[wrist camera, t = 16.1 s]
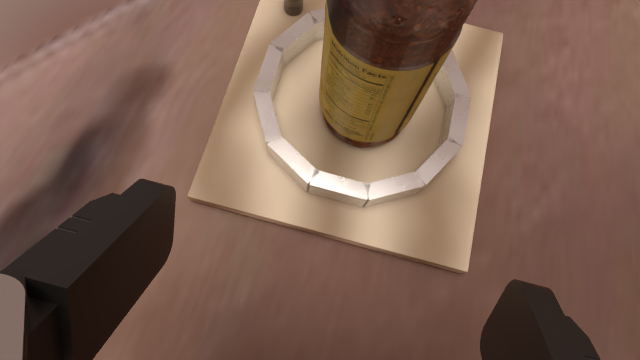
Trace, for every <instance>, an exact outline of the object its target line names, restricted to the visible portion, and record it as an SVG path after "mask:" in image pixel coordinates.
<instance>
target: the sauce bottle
mask: <svg viewBox="0 0 640 360" xmlns="http://www.w3.org/2000/svg"><path fill="white" fill-rule="evenodd" d="M476 1H477V0H326V4H325V23H324V37H323V50H322V61H321V76H320V89H319V101H320V106H321V109H322V113H323V116H324V120H325V122H326V125H327V126H328V128H329V129H330V130H331V131H332V132H333V133H335V135H337V136H338V137H339V138H341V139H342V140H344V141H346V142H347V143H350V144H352V145H353V146H357V147H372V146H375V145H380V144H383V143H385V142H388V141H391V140H393V139H394V138H395V137H396V136H397V135H398V134H399V133H400V131H401V130H402V129H404V127H405V126H406V125H407V124H408V123H409V121H410V120H411V118H412V116H413V115H414V113H415V112H416V110H417V108H418V106H419V105H420V103H421V102H422V100H423V98H424V96H425V95H426V93H427V91H428V89H429V88H430V86H431V84H432V82H433V81H434V79H435V77H436V75H437V74H438V72H439V70H440V69H441V67H442V65H443V64H444V62H445V60H446V59H447V57H448V55H449V53H450V52H451V50H452V48H453V47H454V45H455V43H456V41H457V39H458V38H459V36H460V33H461V31H462V27H463V24H464V23H465V21H466V19H467V17H468V16H469V14H470V12H471V10H472V9H473V7H474V5H475V3H476Z"/></svg>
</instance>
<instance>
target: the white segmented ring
mask: <svg viewBox="0 0 640 360" xmlns="http://www.w3.org/2000/svg"><path fill="white" fill-rule="evenodd" d="M284 11H285V13H286V14H287V15H289V16H298V15H300V14H301V13H302V11H303V0H284ZM324 23H325V9H320V10H315V11H310V14H309V13H307V14H305V15H304V16H303V17H302V18H300V19H299V20H298V21H297V22H295V23H294V24H293V25H292V26H290V27H289V28H288V29H287V30H285V31H284V32H283V33H282V34H280V35H279V36H278V37H277V38H276V39H274V40H273V41H272V42H271V43H270V44H269V46H268V49H267V52H266V55H265V58H264V61H263V63H262V66H261V69H260V72H259V75H258V78H257V80H256V83H255V86H254V89H253V94H254V99H255V105H256V109H257V113H258V117H259V121H260V125H261V129H262V133H263V137H264V141H265V145H266V148H267V152H268V154H269V156H270V157H271V158H272V159H273V160H274V161H275V162H276V163H277V164H278V165H279V166H280V167H281V168H282V169H283V170H284V171H285V172H286V173H287V174H288V175H289V176H290V177H291V178H292V179H293V180H294V181H295V182H296V183H298V184H299V185H300V186H301V187H302V188H303V189H304V190H305V191H306V192H308V191H309V194H312V195H316V196H320V197H323V198H327V199H331V200H334V201H338V202H342V203H346V204H349V205H353V206H357V207H361V208H362V207H363V206H364V208H365V207H369V206H373V205H377V204H381V203H385V202H389V201H392V200H396V199H400V198H404V197H408V196H412V195H415V194H416V193H418V192H419V191H420V190H421V189H422V188H423V187H425V186H426V185H427V184H428V183H429V181H430V180H431V179H432V178H433V177H434V176H435V175H436V174H437V173H438V172H439V171H440V170H441V169H442V168H443V167H444V166H445V165H446V164H447V163H448V162H449V160H450V159H451V158H452V157H453V156H454V155H455V154H456V153H457V152H458V151H459V150H460V149H461V148H462V146H463V143H464V137H465V131H466V125H467V119H468V113H469V107H470V101H471V97H470V96H471V94H470V91H469V89H468V87H467V84H466V82H465V79H464V77H463V74H462V72H461V70H460V67H459V65H458V62H457V60H456V58H455V55H454V53H453V50H451V52H450V53H449V55H448V57H447V59H446V60H445V62H444V64H443V65H442V67H441V69H440V70H439V72H438V74H437V75H436V77H435V79H434V82H435V85H436V87H437V90H438V92H439V95H440V98H441V100H442V103H443V105H444V108H445V114H444V119H443V124H442V130H441V135H440V140H439V146H438V149H437V150H436V151H435V152H434V153H433V154H432V155H431V156H430V157H429V158H428V160H427V161H426V162H425V163H424V164H423V165H422V166H421V167H420V168H419V169H418V170H417V171H415V172H411V173H407V174H403V175H399V176H395V177H391V178H387V179H383V180H379V181H375V182H371V183H364V182H360V181H356V180H352V179H349V178H345V177H341V176H337V175H334V174H330V173H326V172H322V171H319V170H317V169H316V168H315V167H313V166H312V165H311V164H310V163H309V162H308V161H307V160H306V159H305V158H304V157H303V156H302V155H301V154H300V153H299V152H298V151H297V150H296V149H295V148H294V147H293V146H292V145H291V144H289V143H288V142H287V141H286V140H285V139H284V138H283V137H282V136H281V133H280V129H279V126H278V122H277V118H276V114H275V111H274V107H273V103H272V102H273V98H274V95H275V92H276V89H277V86H278V83H279V80H280V77H281V74H282V71H283V68H284V67H285V66H286V65H287V64H288V63H290V62H291V61H292V60H293V59H294V58H296V57H297V56H298V55H299V54H300V53H302V52H303V51H304V50H305V49H306V48H308V47H309V46H310V45H311V44H312V43H314V42H315V41H319V40H323V37H324Z"/></svg>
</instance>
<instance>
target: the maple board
mask: <svg viewBox="0 0 640 360" xmlns="http://www.w3.org/2000/svg"><path fill="white" fill-rule="evenodd" d="M325 4H326V0H303V11H302V13H301V14H300V15H298V16H289V15H287V14H286V13H285V11H284V0H260V3H259V5H258V8H257V11H256V13H255V16H254V19H253V21H252V24H251V27H250V30H249V32H248V35H247V38H246V40H245V43H244V46H243V48H242V51H241V54H240V56H239V59H238V62H237V65H236V67H235V70H234V73H233V75H232V78H231V81H230V83H229V86H228V89H227V91H226V94H225V97H224V99H223V102H222V105H221V108H220V110H219V113H218V116H217V118H216V121H215V124H214V126H213V129H212V132H211V134H210V137H209V140H208V142H207V145H206V148H205V151H204V153H203V156H202V159H201V161H200V164H199V167H198V169H197V172H196V175H195V177H194V180H193V183H192V186H191V188H190V191H189V194H188V197H189V198H190V199H191V201H194V202H198V203H201V204H205V205H209V206H212V207H216V208H220V209H223V210H227V211H231V212H235V213H238V214H242V215H246V216H249V217H253V218H257V219H260V220H264V221H268V222H272V223H275V224H279V225H283V226H286V227H290V228H294V229H297V230H301V231H305V232H309V233H312V234H316V235H320V236H323V237H327V238H331V239H334V240H338V241H342V242H346V243H349V244H353V245H357V246H360V247H364V248H368V249H371V250H375V251H379V252H383V253H386V254H390V255H394V256H397V257H401V258H405V259H408V260H412V261H416V262H420V263H423V264H427V265H431V266H434V267H438V268H442V269H445V270H449V271H453V272H457V273H460V274H461V273H465V272H468V266H469V260H470V253H471V246H472V240H473V233H474V226H475V220H476V213H477V206H478V200H479V193H480V186H481V180H482V173H483V166H484V160H485V153H486V146H487V140H488V133H489V126H490V120H491V113H492V106H493V100H494V93H495V86H496V80H497V73H498V66H499V60H500V53H501V46H502V40H503V33H499V32H496V31H492V30H488V29H484V28H480V27H476V26H472V25H468V24H463V27H462V31H461V33H460V36H459V38H458V39H457V41H456V43H455V45H454V47H453V48H452V50H453V53H454V55H455V58H456V60H457V62H458V65H459V67H460V70H461V72H462V74H463V77H464V79H465V82H466V84H467V87H468V89H469V91H470V94H471V96H470V97H471V101H470V107H469V113H468V119H467V125H466V131H465V137H464V143H463V146H462V148H461V149H460V150H459V151H458V152H457V153H456V154H455V155H454V156H453V157H452V158H451V159H450V160H449V162H448V163H447V164H446V165H445V166H444V167H443V168H442V169H441V170H440V171H439V172H438V173H437V174H436V175H435V176H434V177H433V178H432V179H431V180H430V181H429V183H428V184H427V185H426V186H425V187H423V188H422V189H421V190H420V191H419V192H418V193H416V194H415V195H412V196H408V197H404V198H400V199H396V200H392V201H389V202H385V203H381V204H377V205H373V206H369V207H365V208H364V206H363V207H362V208H361V207H357V206H353V205H349V204H346V203H342V202H338V201H334V200H331V199H327V198H323V197H320V196H316V195H312V194H309V191H308V192H306V191H305V190H304V189H303V188H302V187H301V186H300V185H299V184H298V183H296V182H295V181H294V180H293V179H292V178H291V177H290V176H289V175H288V174H287V173H286V172H285V171H284V170H283V169H282V168H281V167H280V166H279V165H278V164H277V163H276V162H275V161H274V160H273V159H272V158H271V157H270V156H269V154H268V152H267V148H266V145H265V141H264V137H263V133H262V129H261V125H260V121H259V117H258V113H257V109H256V105H255V99H254V94H253V89H254V86H255V83H256V80H257V78H258V75H259V72H260V69H261V66H262V63H263V61H264V58H265V55H266V52H267V49H268V46H269V44H270V43H271V42H272V41H273V40H274V39H276V38H277V37H278V36H279V35H280V34H282V33H283V32H284V31H285V30H287V29H288V28H289V27H290V26H292V25H293V24H294V23H295V22H297V21H298V20H299V19H300V18H302V17H303V16H304V15H305V14H307V13H309V14H310V11H315V10H320V9H325ZM322 50H323V40H319V41H315V42H314V43H312V44H311V45H310V46H309V47H308V48H306V49H305V50H304V51H303V52H302V53H300V54H299V55H298V56H297V57H296V58H294V59H293V60H292V61H291V62H290V63H288V64H287V65H286V66H285V67H284V68H283V71H282V74H281V77H280V80H279V83H278V86H277V89H276V92H275V95H274V98H273V102H272V103H273V107H274V111H275V114H276V118H277V122H278V126H279V129H280V133H281V136H282V137H283V138H284V139H285V140H286V141H287V142H288V143H289V144H291V145H292V146H293V147H294V148H295V149H296V150H297V151H298V152H299V153H300V154H301V155H302V156H303V157H304V158H305V159H306V160H307V161H308V162H309V163H310V164H311V165H312V166H313V167H315V168H316V169H317V170H319V171H322V172H326V173H330V174H334V175H337V176H341V177H345V178H349V179H352V180H356V181H360V182H364V183H371V182H375V181H379V180H383V179H387V178H391V177H395V176H399V175H403V174H407V173H411V172H415V171H417V170H418V169H419V168H420V167H421V166H422V165H423V164H424V163H425V162H426V161H427V160H428V158H429V157H430V156H431V155H432V154H433V153H434V152H435V151H436V150H437V149H438V146H439V140H440V135H441V130H442V124H443V119H444V114H445V108H444V105H443V103H442V100H441V98H440V95H439V92H438V90H437V87H436V85H435V82H434V81H433V82H432V84H431V86H430V88H429V89H428V91H427V93H426V95H425V96H424V98H423V100H422V102H421V103H420V105H419V106H418V108H417V110H416V112H415V113H414V115H413V116H412V118H411V120H410V121H409V123H408V124H407V125H406V126H405V127H404V129H402V130H401V131H400V133H399V134H398V135H397V136H396V137H395V138H394V139H393V140H391V141H388V142H385V143H383V144H380V145H375V146H372V147H357V146H353V145H352V144H350V143H347V142H346V141H344V140H342V139H341V138H339V137H338V136H337V135H335V133H333V132H332V131H331V130H330V129H329V128H328V126H327V125H326V122H325V120H324V116H323V113H322V109H321V106H320V101H319V89H320V76H321V61H322Z"/></svg>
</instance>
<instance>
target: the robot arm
mask: <svg viewBox="0 0 640 360" xmlns="http://www.w3.org/2000/svg"><path fill="white" fill-rule="evenodd" d="M175 201H176V192H175V189H174V187H172V186H168V185H164V184H161V183H157V182H153V181H149V180H146V179H139V180H138V181H136V182H135V183H134V184H133V185H132V186H130V187H129V188H128V189H127V190H126V191H125V192H123V193H122V194H121V195H118V194H115V193H111V194H108V195H106V196H103V197H101V198H98V199H96V200H93V201H90V202H89V203H87V204H86V205H85V206H84V207H82V208H81V209H80V210H79V211H77V212H76V213H75V214H73V217H72V218H68V219H67V220H66V221H64V222H63V223H62V224H61V225H59V227H58V229H54V230H53V231H52V232H50V233H49V234H48V235H47V236H45V237H44V238H43V239H42V240H40V241H39V242H38V243H36V244H35V245H34V246H33V247H31V248H30V249H29V250H28V251H26V252H25V253H24V254H22V255H21V256H20V257H19V258H17V259H16V260H15V261H14V262H12V263H11V264H10V265H8V266H7V267H6V268H5V269H3V270H2V271H1V272H0V360H93V358H94V357H95V356H96V354H97V353H98V352H99V350H100V349H101V348H102V346H103V345H104V344H105V342H106V341H107V340H108V338H109V337H110V336H111V334H112V333H113V332H114V330H115V329H116V328H117V326H118V325H119V324H120V322H121V321H122V320H123V318H124V317H125V316H126V315H127V313H128V312H129V311H130V309H131V308H132V307H133V305H134V304H135V303H136V301H137V300H138V299H139V297H140V296H141V295H142V293H143V292H144V291H145V289H146V288H147V287H148V285H149V284H150V283H151V281H152V280H153V279H154V277H155V276H156V275H157V273H158V272H159V271H160V269H161V268H162V267H163V265H164V264H165V262H166V260H167V258H168V256H169V254H170V251H171V248H172V243H173V233H174V217H175ZM480 351H481V356H482V360H600V358H599V356H598V354H597V352H596V350H595V348H594V347H593V345H592V343H591V341H590V339H589V337H588V336H587V335H586V334H585V333H584V332H583V331H582V330H581V329H580V328H579V327H578V326H577V324H576V323H575V322H574V321H573V320H572V319H571V318H570V317H568V316H565V315H564V313H563V311H562V309H561V307H560V305H559V303H558V301H557V299H556V297H555V295H554V293H553V292H552V291H551V289H549V288H546V287H542V286H539V285H535V284H531V283H527V282H524V281H520V280H516V279H515V280H512V281H511V282H509V284H508V285H507V286H506V288H505V290H504V292H503V293H502V295H501V297H500V299H499V300H498V302H497V304H496V306H495V308H494V309H493V311H492V313H491V315H490V316H489V318H488V320H487V322H486V323H485V325H484V328H483V330H482V334H481V340H480Z"/></svg>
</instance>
